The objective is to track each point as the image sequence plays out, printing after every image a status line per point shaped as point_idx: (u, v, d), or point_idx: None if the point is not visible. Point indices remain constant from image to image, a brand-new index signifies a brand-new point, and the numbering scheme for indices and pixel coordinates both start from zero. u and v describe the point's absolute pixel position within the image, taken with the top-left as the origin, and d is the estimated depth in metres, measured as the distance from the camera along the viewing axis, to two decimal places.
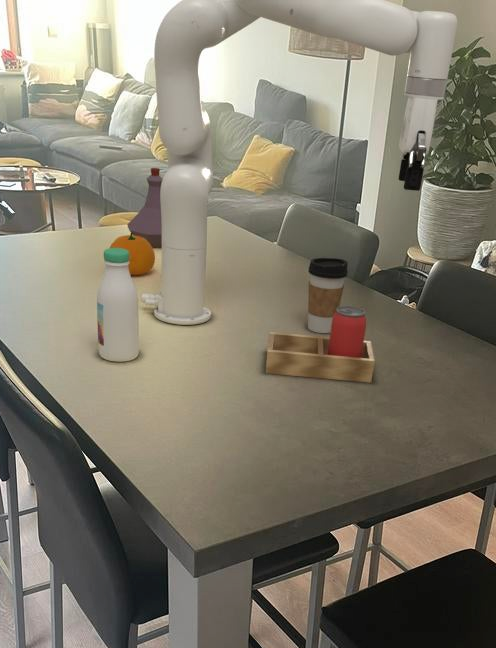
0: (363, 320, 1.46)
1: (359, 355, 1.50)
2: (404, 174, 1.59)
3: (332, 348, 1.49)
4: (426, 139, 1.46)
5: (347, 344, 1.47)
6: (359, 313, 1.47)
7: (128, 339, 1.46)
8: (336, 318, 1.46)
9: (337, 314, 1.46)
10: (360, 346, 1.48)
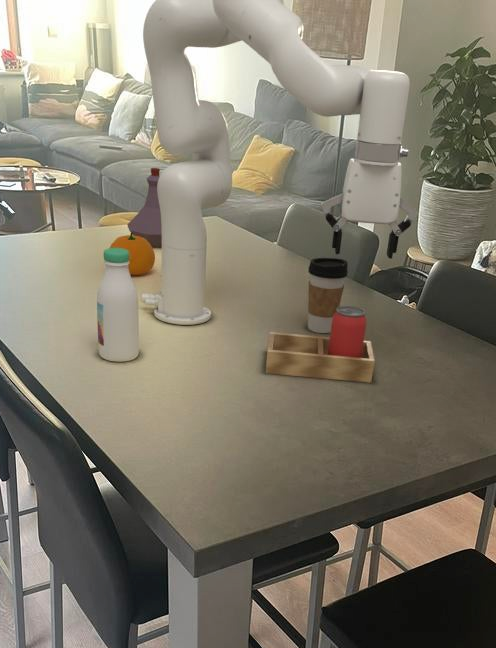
0: (363, 320, 1.46)
1: (359, 355, 1.50)
2: (387, 248, 1.42)
3: (332, 348, 1.49)
4: (342, 201, 1.37)
5: (347, 344, 1.47)
6: (359, 313, 1.47)
7: (128, 339, 1.46)
8: (336, 318, 1.46)
9: (337, 314, 1.46)
10: (360, 346, 1.48)
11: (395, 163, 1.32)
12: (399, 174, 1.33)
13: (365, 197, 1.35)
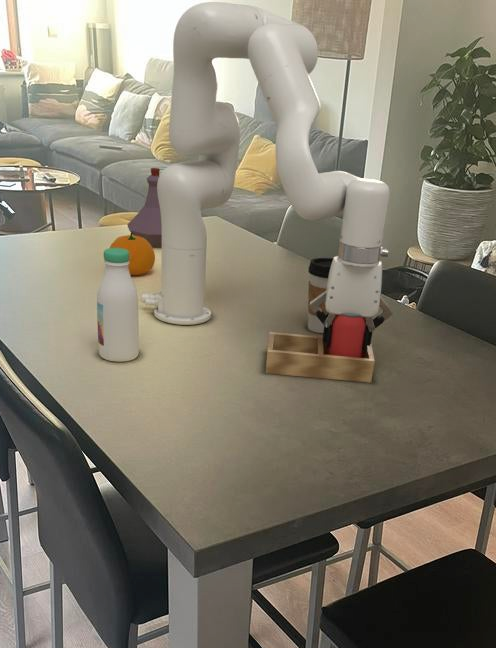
0: (363, 320, 1.46)
1: (359, 355, 1.50)
2: None
3: (332, 348, 1.49)
4: (326, 296, 1.44)
5: (347, 344, 1.47)
6: None
7: (128, 339, 1.46)
8: (336, 318, 1.46)
9: None
10: (360, 346, 1.48)
11: (376, 264, 1.40)
12: (379, 273, 1.41)
13: (347, 293, 1.43)
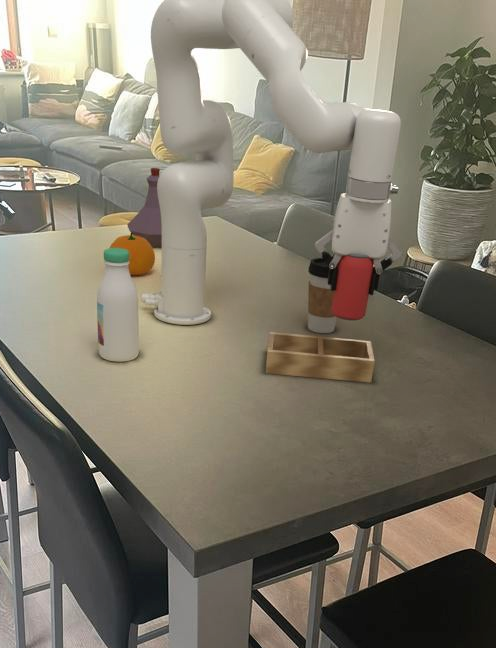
0: (370, 262, 1.40)
1: (365, 299, 1.44)
2: None
3: (338, 292, 1.43)
4: (332, 235, 1.39)
5: (353, 286, 1.41)
6: None
7: (128, 339, 1.46)
8: (342, 259, 1.40)
9: (343, 255, 1.40)
10: (367, 290, 1.43)
11: (385, 200, 1.34)
12: (389, 211, 1.35)
13: (355, 232, 1.37)
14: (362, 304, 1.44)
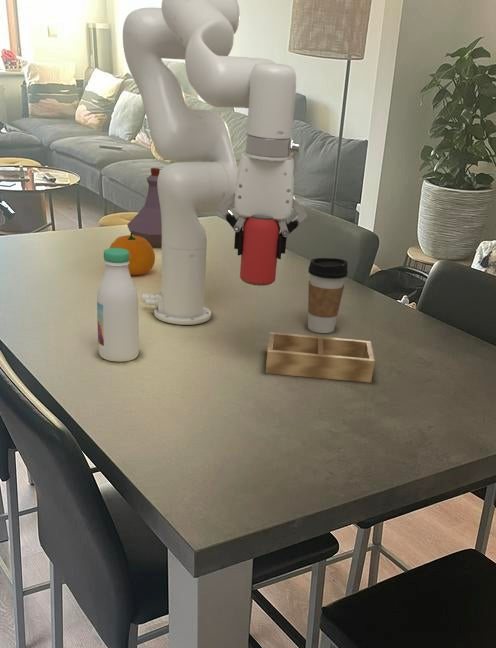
0: (275, 223, 1.36)
1: (273, 263, 1.40)
2: None
3: (244, 256, 1.39)
4: (234, 196, 1.34)
5: (259, 249, 1.37)
6: None
7: (128, 339, 1.46)
8: (247, 221, 1.36)
9: None
10: (274, 253, 1.38)
11: (285, 158, 1.30)
12: (290, 169, 1.31)
13: (256, 192, 1.32)
14: (270, 269, 1.39)
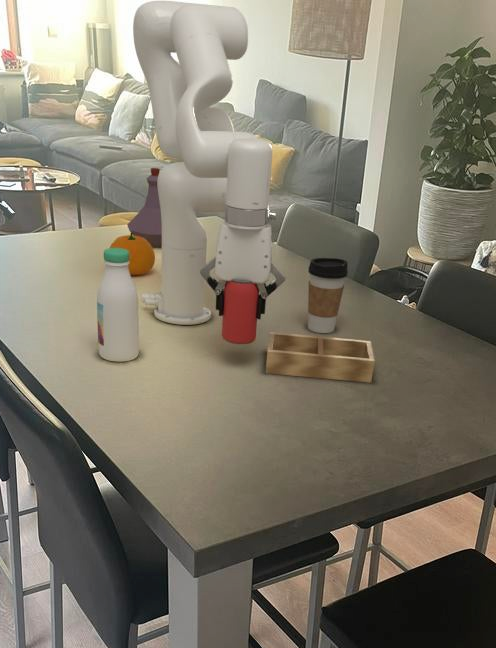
0: (255, 287, 1.42)
1: (253, 323, 1.45)
2: None
3: (225, 316, 1.44)
4: (215, 261, 1.40)
5: (239, 311, 1.42)
6: None
7: (128, 339, 1.46)
8: (227, 285, 1.42)
9: None
10: (253, 314, 1.44)
11: (262, 227, 1.35)
12: (267, 237, 1.37)
13: (236, 258, 1.38)
14: (250, 329, 1.45)
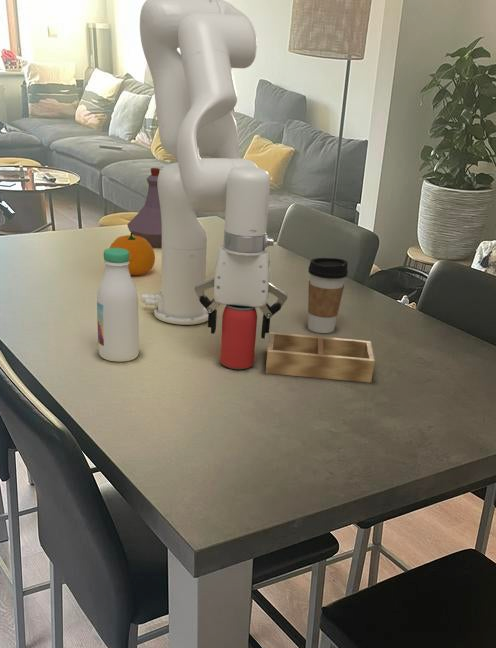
0: (252, 314, 1.44)
1: (251, 349, 1.48)
2: None
3: (223, 342, 1.47)
4: (213, 285, 1.42)
5: (237, 338, 1.45)
6: (249, 307, 1.45)
7: (128, 339, 1.46)
8: (225, 312, 1.44)
9: (226, 308, 1.44)
10: (251, 340, 1.47)
11: (260, 253, 1.38)
12: (265, 263, 1.39)
13: (234, 283, 1.41)
14: (248, 354, 1.48)
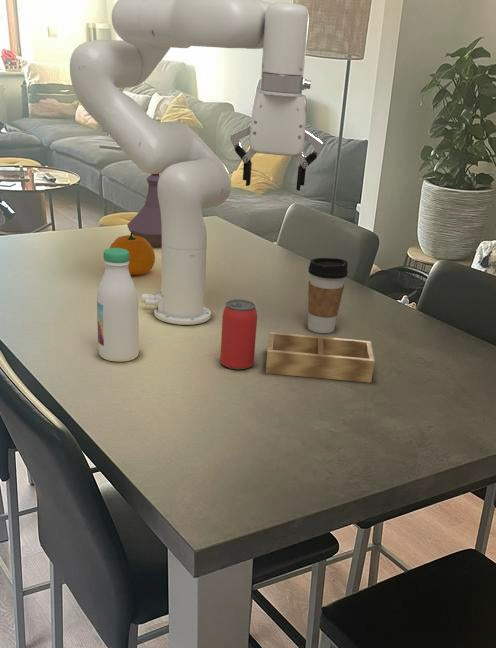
0: (252, 314, 1.44)
1: (251, 349, 1.48)
2: None
3: (223, 342, 1.47)
4: (249, 132, 1.42)
5: (237, 338, 1.45)
6: (249, 307, 1.45)
7: (128, 339, 1.46)
8: (225, 312, 1.44)
9: (226, 308, 1.44)
10: (251, 340, 1.47)
11: (298, 94, 1.37)
12: (302, 105, 1.38)
13: (270, 128, 1.40)
14: (248, 354, 1.48)
